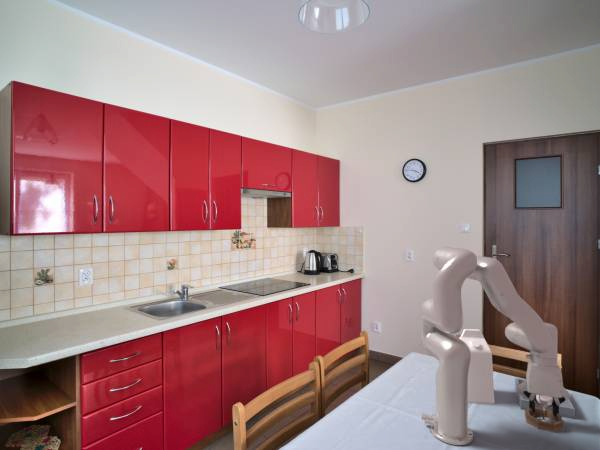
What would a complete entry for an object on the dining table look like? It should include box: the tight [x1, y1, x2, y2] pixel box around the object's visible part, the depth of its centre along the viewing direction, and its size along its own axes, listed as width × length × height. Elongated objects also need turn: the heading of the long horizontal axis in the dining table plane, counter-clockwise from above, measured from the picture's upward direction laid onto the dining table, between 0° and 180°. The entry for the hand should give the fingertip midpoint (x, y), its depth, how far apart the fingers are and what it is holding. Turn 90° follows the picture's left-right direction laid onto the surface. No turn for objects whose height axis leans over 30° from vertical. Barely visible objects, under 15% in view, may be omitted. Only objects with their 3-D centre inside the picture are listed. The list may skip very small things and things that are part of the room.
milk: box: [458, 328, 495, 405], centre depth 143 cm, size 12×12×26 cm
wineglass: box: [534, 395, 554, 422], centre depth 124 cm, size 6×6×12 cm
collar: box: [524, 407, 565, 433], centre depth 124 cm, size 10×10×2 cm
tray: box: [514, 377, 575, 420], centre depth 138 cm, size 16×20×4 cm
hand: (543, 412), depth 124 cm, fingers closed on wineglass, 5 cm apart
